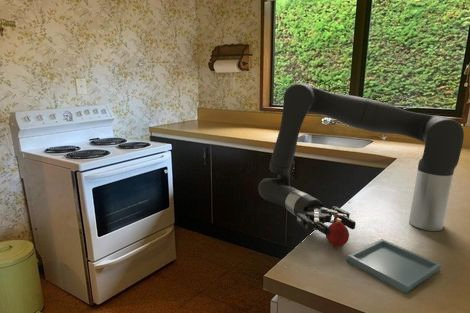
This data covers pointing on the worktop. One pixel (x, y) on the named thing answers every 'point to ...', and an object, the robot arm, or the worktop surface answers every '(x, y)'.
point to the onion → (338, 234)
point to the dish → (394, 265)
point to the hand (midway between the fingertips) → (342, 228)
